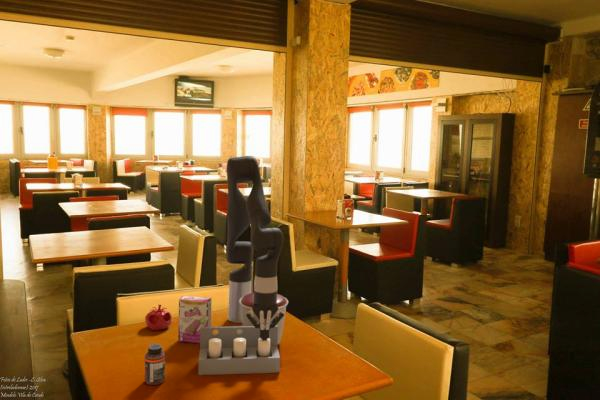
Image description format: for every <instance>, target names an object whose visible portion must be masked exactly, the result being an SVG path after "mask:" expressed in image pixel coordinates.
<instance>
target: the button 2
mask: <svg viewBox="0 0 600 400" xmlns="http://www.w3.org/2000/svg"><path fill="white" fill-rule="evenodd" d="M258 355H259V356H261V357H267V356H269V355H270V338H268V339H267V341H265V340H264V341H262V339H261V338H259V339H258Z"/></svg>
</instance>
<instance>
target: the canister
mask: <svg viewBox="0 0 600 400" xmlns="http://www.w3.org/2000/svg"><path fill="white" fill-rule="evenodd" d="M239 303H240V305H241V313H242V323H241V324H242V326H254V325H253V324H252V323H251V322H250V320H249V319H248V318H247V317H246V312H247V311H250V310H251V309H252V306H253V304H254V292H251V293H250V294H247V295H245V296H244V297H242V298H241V299H240V300H239ZM288 304H289V300H288V299H287V297H284V296H283V295H282V294H279V293H277V306H278V309H279V310H280V311H283V313H284V316H283V317H282V319H281V320H280V321H279V322H278V323H277V325H276V326H278V342H277V346H279V344H280V342H281V340H282V336H283V330H284V326H285V325H284V323H285V318H286V317H285V316H286V310H287V306H288ZM276 313H277V312H276ZM276 313H275V315H274V316H273V317H272V318H271V319H270V323H271V322H272V321H273V319H274V318H275V317H276ZM253 314H254V316H253V317H254V318H255V320H256V321H257V322H258V323H260V319H259V318H258V317H257V316H256V315H255V313H254V312H253ZM265 322H266V319H264V326H265Z"/></svg>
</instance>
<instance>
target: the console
mask: <svg viewBox="0 0 600 400" xmlns="http://www.w3.org/2000/svg"><path fill="white" fill-rule="evenodd" d="M264 328H265V326H264ZM213 338H218V339H221V356H220V357H219V358H210V357H209V340H210V339H213ZM236 338H244V339H246V355H245V356H244V357H235V356H234V355H233V353H234V339H236ZM259 338H260V329H259V328H255V327H254V326H243V325H237V326H236V325H235V326H234V325H233V326H211V327H201V331H200V343H199V346H200V347H199V348H200V349H199V356H198V370H197V371H198V373H197V374H198V376H206V375H207V376H210V375H214V376H215V375H237V374H238V375H239V374H240V375H241V374H243V375H246V374H268V373H269V374H270V373H272V374H273V373H280V370H281V356H280V352H279V351H280V350H279V347H278V345H277V342H278V326H275V327H274V328H270V329H269V338H270V355H269V356H267V357H261V356H259V355H258V339H259Z"/></svg>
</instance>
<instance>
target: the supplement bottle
mask: <svg viewBox="0 0 600 400" xmlns="http://www.w3.org/2000/svg"><path fill="white" fill-rule="evenodd" d="M165 379H166V353H165V352H164V351H163V348H162V344H159V343H152V344H150V345H149V346H148V347H147V352H146V353H145V354H144V382H145V383H146V384H147V385H150V386H157V385H160V384H162V383H163V382H164V381H165Z"/></svg>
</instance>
